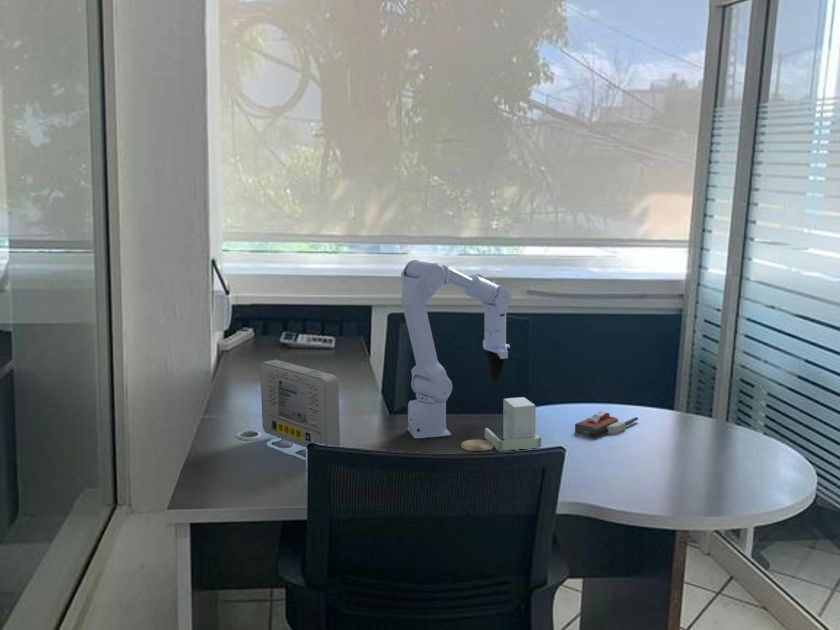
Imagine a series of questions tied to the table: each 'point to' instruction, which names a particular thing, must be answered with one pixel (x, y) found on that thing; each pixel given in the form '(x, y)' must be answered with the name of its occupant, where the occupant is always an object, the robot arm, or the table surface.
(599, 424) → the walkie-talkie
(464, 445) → the cork coaster
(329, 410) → the network device
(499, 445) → the bracket
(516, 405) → the small box
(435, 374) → the robot arm
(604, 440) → the table surface
